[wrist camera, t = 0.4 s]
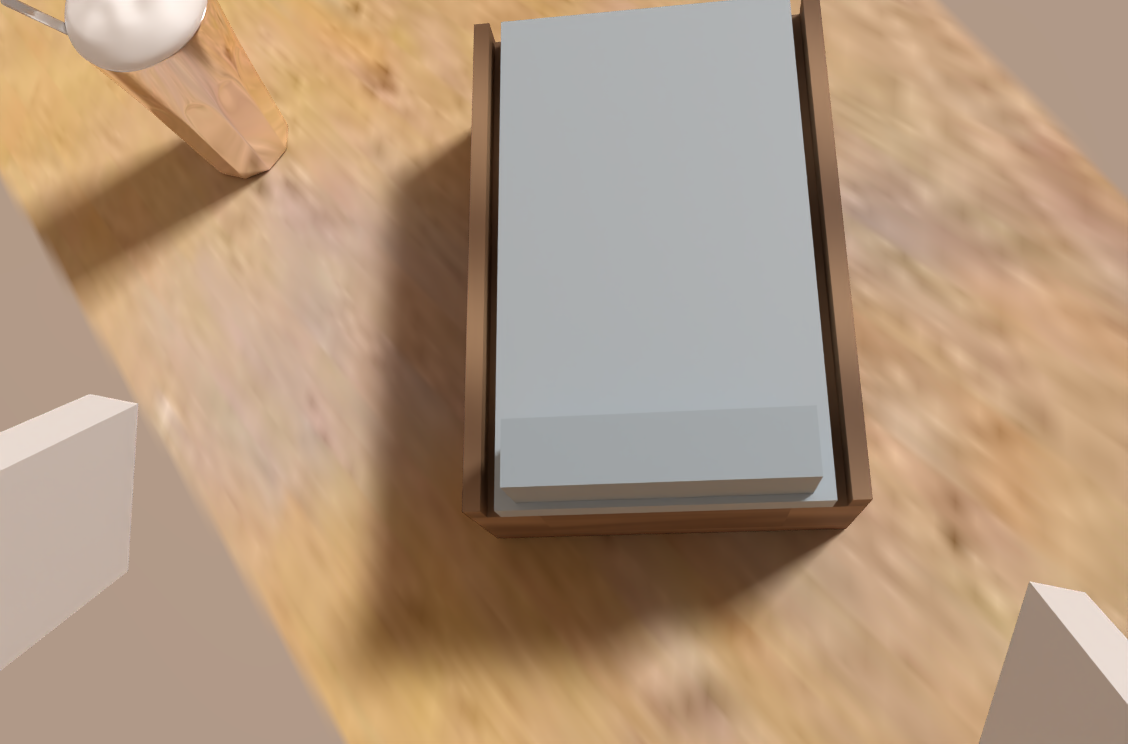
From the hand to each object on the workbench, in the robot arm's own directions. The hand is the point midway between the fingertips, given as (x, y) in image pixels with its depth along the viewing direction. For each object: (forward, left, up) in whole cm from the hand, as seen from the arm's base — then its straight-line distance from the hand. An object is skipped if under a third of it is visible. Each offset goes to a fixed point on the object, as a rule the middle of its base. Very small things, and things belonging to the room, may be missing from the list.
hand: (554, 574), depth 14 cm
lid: (+11, -1, -13) cm, 17 cm away
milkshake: (+18, +15, -17) cm, 29 cm away
